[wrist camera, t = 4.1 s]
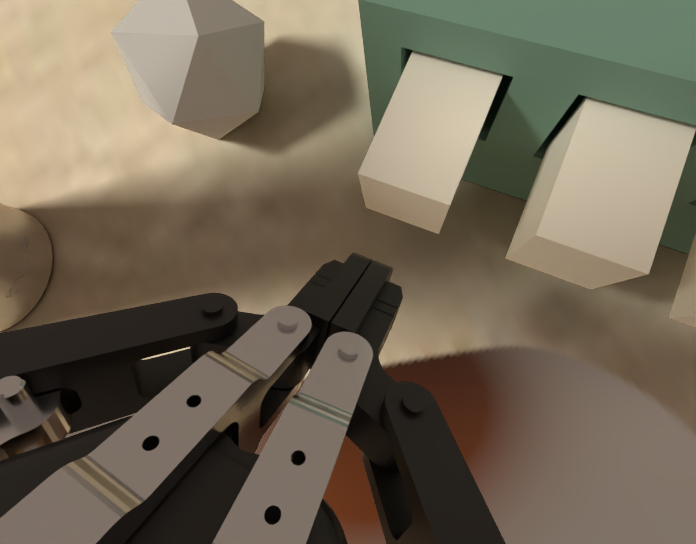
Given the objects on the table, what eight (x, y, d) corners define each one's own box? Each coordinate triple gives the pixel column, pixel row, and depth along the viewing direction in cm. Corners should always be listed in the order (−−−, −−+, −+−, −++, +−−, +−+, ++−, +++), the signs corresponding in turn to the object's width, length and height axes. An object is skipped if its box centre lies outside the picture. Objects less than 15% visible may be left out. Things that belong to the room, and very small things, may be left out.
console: (375, 150, 24) (336, -197, 9) (430, 26, 25) (485, -479, 10) (746, 273, 20) (2019, 27, 4) (791, 116, 21) (1918, -523, 5)
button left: (365, 207, 18) (357, 173, 14) (410, 104, 19) (414, 47, 15) (438, 234, 17) (449, 205, 14) (482, 126, 18) (504, 70, 14)
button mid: (504, 258, 17) (535, 235, 13) (547, 145, 17) (588, 93, 14) (590, 289, 16) (648, 274, 12) (631, 170, 17) (698, 121, 13)
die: (301, 140, 26) (285, -38, 19) (183, 180, 22) (112, -31, 15) (243, 110, 30) (214, -42, 24) (136, 138, 26) (66, -38, 20)
